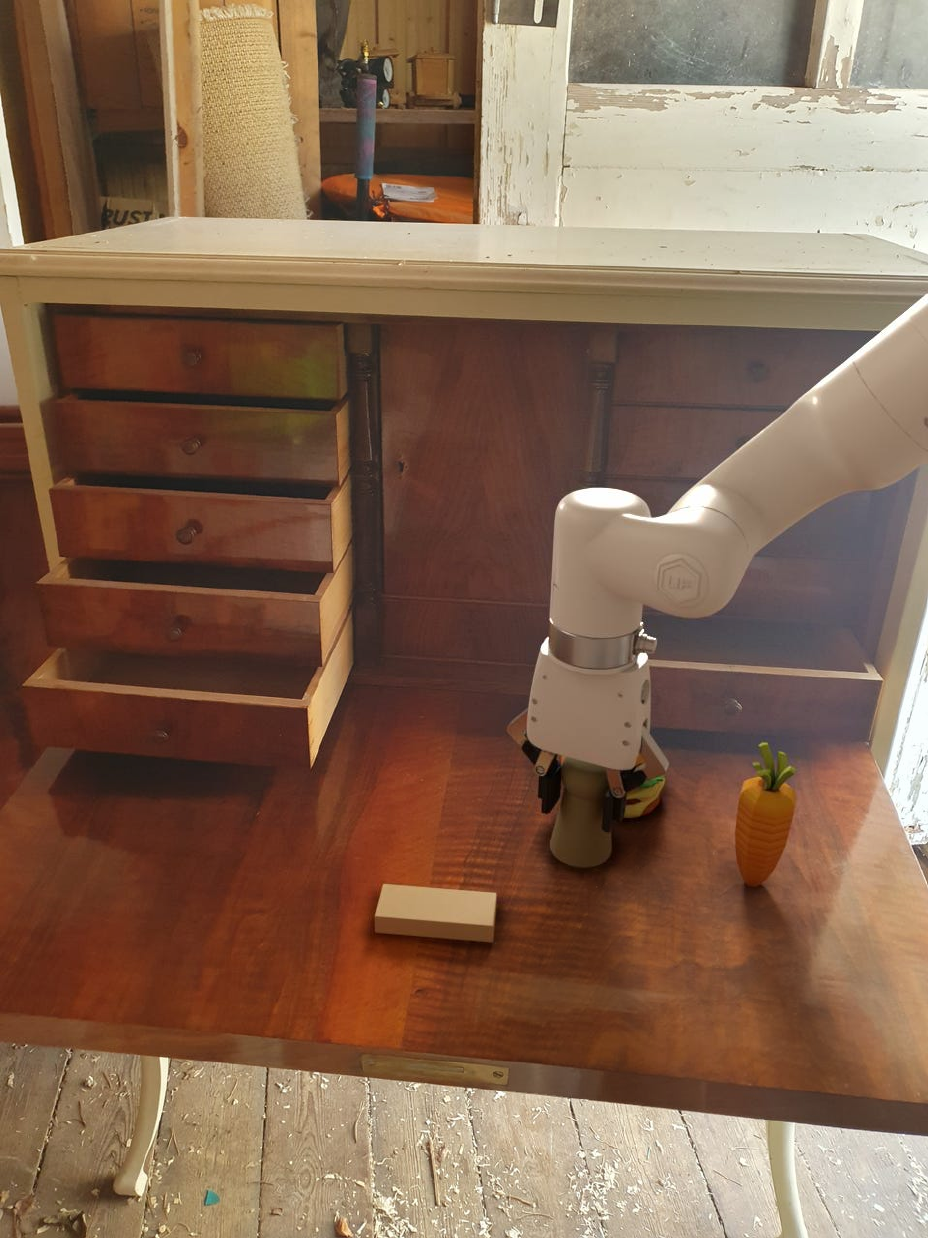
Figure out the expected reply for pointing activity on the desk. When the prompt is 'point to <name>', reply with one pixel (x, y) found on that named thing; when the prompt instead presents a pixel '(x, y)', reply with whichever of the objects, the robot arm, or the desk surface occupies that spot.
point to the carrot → (764, 818)
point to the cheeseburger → (641, 794)
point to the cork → (581, 816)
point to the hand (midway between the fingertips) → (580, 812)
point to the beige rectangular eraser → (436, 913)
